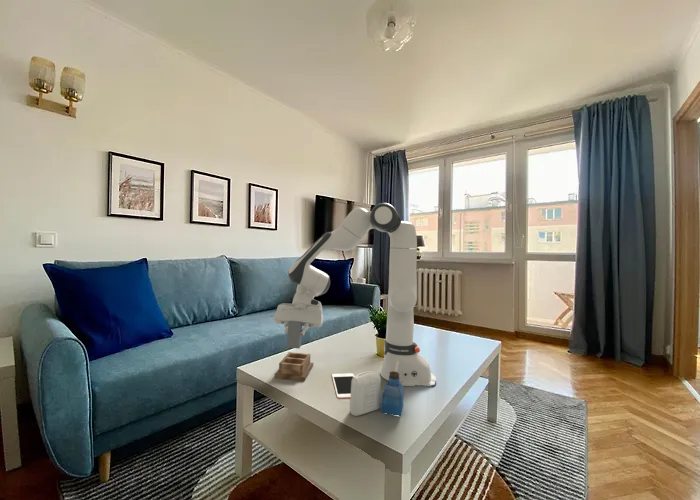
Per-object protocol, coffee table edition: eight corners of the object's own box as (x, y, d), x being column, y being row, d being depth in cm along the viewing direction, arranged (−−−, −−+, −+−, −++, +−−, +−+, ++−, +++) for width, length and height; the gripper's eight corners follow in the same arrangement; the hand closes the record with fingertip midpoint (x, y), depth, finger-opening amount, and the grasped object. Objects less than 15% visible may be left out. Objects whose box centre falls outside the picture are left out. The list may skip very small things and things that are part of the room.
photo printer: (373, 402, 98) (374, 366, 98) (381, 409, 94) (383, 371, 94) (347, 411, 92) (349, 372, 92) (355, 418, 88) (357, 378, 88)
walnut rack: (313, 366, 125) (313, 353, 124) (304, 381, 111) (305, 366, 111) (286, 363, 126) (287, 351, 126) (274, 378, 112) (275, 364, 112)
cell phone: (352, 375, 119) (353, 373, 118) (362, 398, 101) (362, 396, 101) (331, 376, 117) (331, 373, 117) (337, 399, 99) (337, 397, 99)
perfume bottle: (384, 403, 98) (386, 368, 98) (403, 407, 96) (404, 371, 96) (381, 413, 92) (383, 375, 92) (400, 417, 90) (402, 379, 90)
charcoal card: (300, 346, 116) (302, 321, 116) (299, 348, 114) (300, 323, 114) (288, 345, 117) (290, 320, 117) (286, 347, 114) (288, 322, 114)
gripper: (277, 298, 123) (267, 327, 114) (324, 302, 121) (318, 332, 111) (280, 306, 128) (270, 335, 118) (325, 310, 125) (319, 340, 116)
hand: (294, 334), depth 115 cm, fingers closed on charcoal card, 5 cm apart
